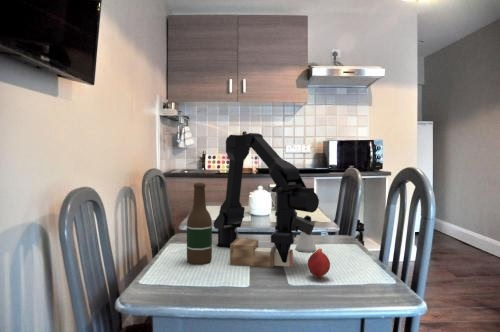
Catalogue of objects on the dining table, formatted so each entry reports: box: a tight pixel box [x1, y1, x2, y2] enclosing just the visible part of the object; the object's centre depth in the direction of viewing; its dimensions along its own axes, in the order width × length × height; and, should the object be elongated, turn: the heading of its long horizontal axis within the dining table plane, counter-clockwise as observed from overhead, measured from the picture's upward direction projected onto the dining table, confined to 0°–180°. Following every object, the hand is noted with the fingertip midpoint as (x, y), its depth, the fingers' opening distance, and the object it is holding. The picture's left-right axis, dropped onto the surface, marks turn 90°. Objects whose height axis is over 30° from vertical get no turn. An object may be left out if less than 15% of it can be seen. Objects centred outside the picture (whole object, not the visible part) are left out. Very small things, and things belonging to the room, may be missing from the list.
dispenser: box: [229, 237, 277, 269], centre depth 109 cm, size 13×8×6 cm, turn 78°
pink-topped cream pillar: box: [254, 247, 294, 268], centre depth 108 cm, size 14×4×4 cm, turn 78°
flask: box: [295, 231, 317, 253], centre depth 124 cm, size 7×7×10 cm
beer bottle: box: [186, 182, 213, 266], centre depth 109 cm, size 8×8×24 cm
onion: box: [307, 247, 331, 279], centre depth 95 cm, size 6×6×8 cm
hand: (285, 260), depth 107 cm, fingers closed on pink-topped cream pillar, 4 cm apart
